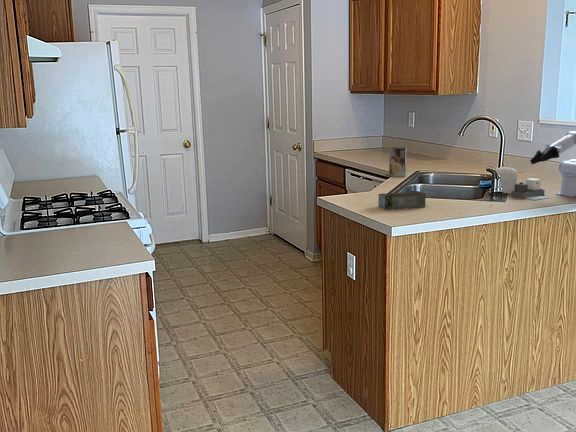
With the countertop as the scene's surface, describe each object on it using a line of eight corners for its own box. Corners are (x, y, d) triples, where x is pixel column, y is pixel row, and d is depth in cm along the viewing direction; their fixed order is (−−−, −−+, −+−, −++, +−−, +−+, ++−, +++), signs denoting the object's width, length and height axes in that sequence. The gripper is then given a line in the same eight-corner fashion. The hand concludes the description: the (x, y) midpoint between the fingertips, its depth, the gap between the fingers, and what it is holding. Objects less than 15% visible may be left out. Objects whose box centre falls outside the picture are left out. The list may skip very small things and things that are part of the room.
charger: (531, 188, 270) (532, 178, 269) (540, 190, 266) (540, 179, 265) (525, 189, 268) (526, 179, 267) (533, 191, 264) (534, 180, 263)
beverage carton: (377, 206, 248) (377, 191, 247) (418, 204, 253) (418, 189, 251) (384, 210, 241) (384, 195, 239) (426, 208, 245) (427, 192, 243)
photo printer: (516, 193, 273) (518, 167, 270) (514, 194, 269) (516, 168, 266) (493, 191, 278) (495, 166, 275) (492, 192, 274) (493, 167, 271)
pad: (538, 196, 264) (538, 195, 264) (547, 198, 260) (547, 197, 260) (525, 198, 260) (525, 197, 260) (534, 200, 256) (534, 199, 256)
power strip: (531, 193, 272) (532, 178, 271) (544, 195, 266) (545, 181, 265) (511, 196, 266) (512, 181, 264) (523, 198, 260) (524, 183, 258)
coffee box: (406, 175, 328) (407, 147, 324) (405, 177, 322) (406, 148, 318) (390, 174, 330) (390, 147, 327) (388, 176, 324) (389, 148, 321)
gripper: (545, 142, 266) (522, 155, 263) (566, 135, 252) (542, 150, 249) (552, 155, 266) (530, 169, 264) (573, 149, 252) (550, 164, 249)
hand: (536, 160), depth 256 cm, fingers open, 7 cm apart
